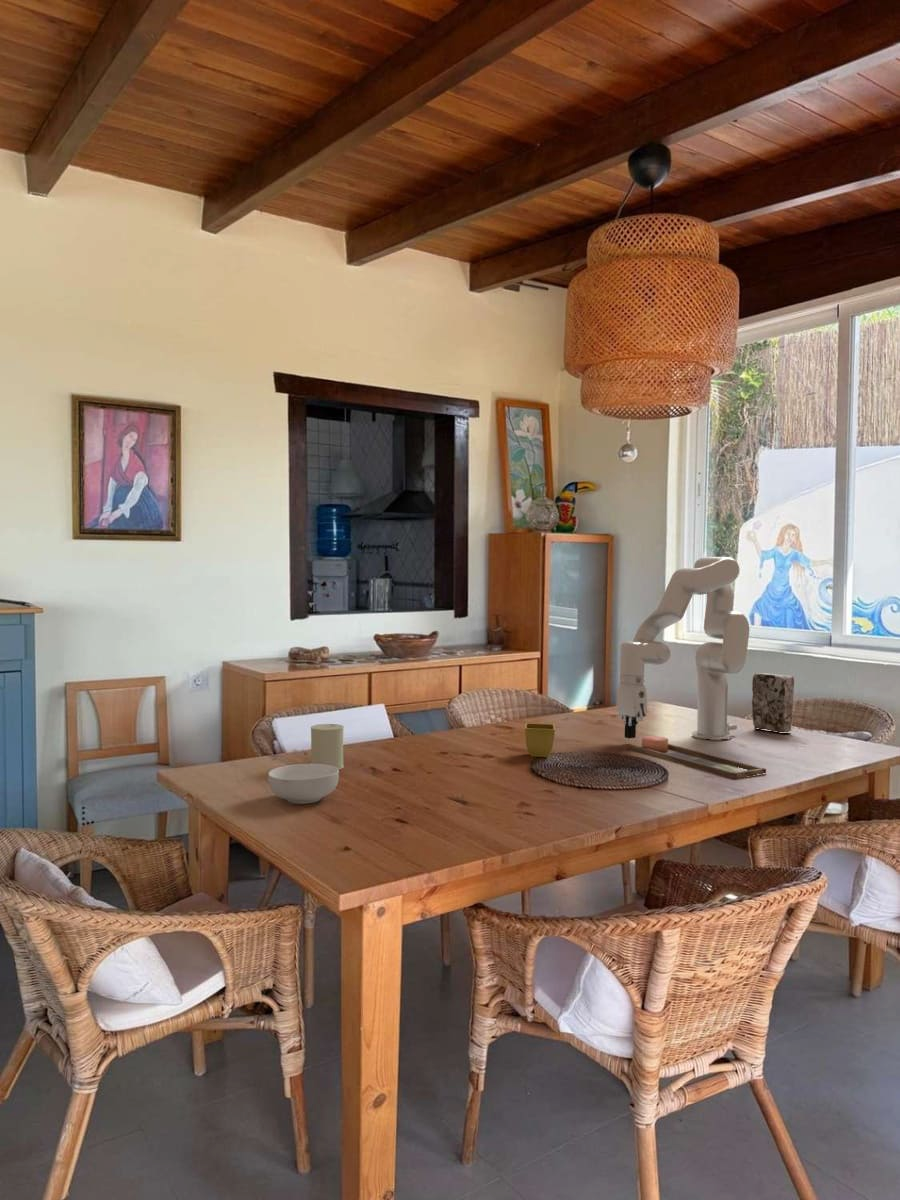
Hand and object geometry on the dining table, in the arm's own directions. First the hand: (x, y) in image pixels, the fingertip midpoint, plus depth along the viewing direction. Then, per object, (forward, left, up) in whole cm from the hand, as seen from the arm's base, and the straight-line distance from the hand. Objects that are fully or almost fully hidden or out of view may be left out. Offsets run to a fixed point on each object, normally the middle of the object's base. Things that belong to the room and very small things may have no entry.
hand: (630, 737), depth 283 cm
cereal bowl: (+115, +16, -2) cm, 116 cm away
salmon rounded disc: (0, +11, -2) cm, 11 cm away
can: (+98, -13, -2) cm, 98 cm away
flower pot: (+36, +1, -2) cm, 36 cm away
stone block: (-58, +5, -2) cm, 59 cm away
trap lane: (0, +27, -2) cm, 27 cm away
